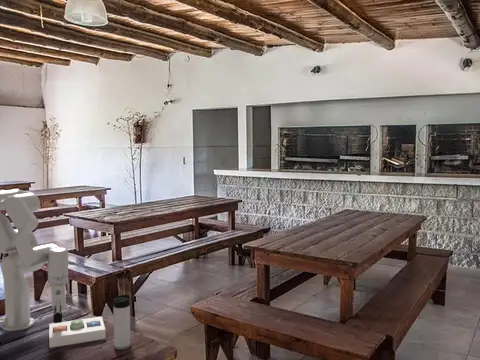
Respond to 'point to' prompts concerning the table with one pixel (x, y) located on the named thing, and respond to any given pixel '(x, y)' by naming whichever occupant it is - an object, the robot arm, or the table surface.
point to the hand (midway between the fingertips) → (57, 322)
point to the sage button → (76, 324)
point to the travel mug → (122, 322)
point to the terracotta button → (59, 329)
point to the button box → (76, 333)
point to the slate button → (93, 323)
